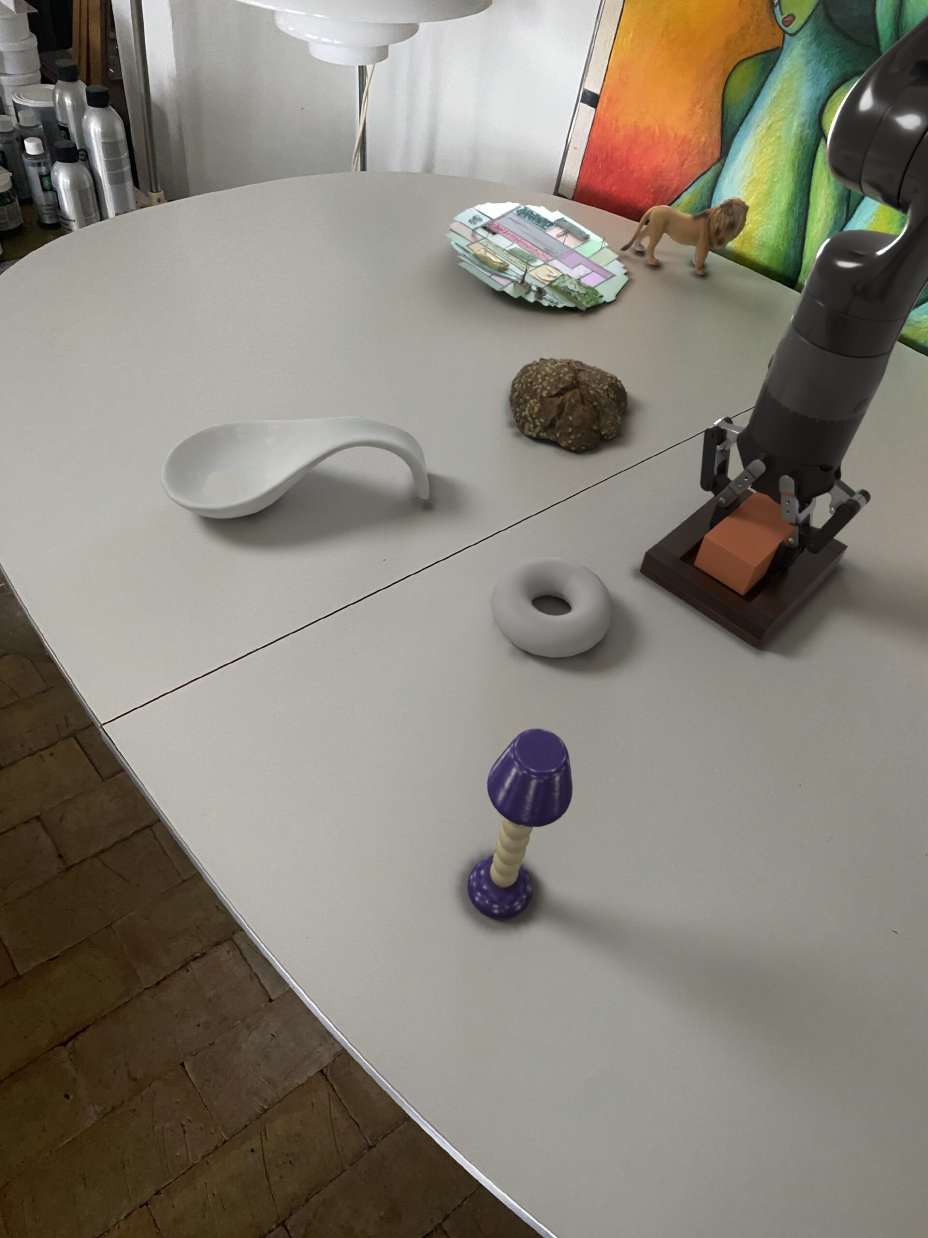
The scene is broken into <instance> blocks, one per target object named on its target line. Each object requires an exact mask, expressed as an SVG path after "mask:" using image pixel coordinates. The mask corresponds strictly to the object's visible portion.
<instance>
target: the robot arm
mask: <svg viewBox="0 0 928 1238" xmlns="http://www.w3.org/2000/svg"><path fill="white" fill-rule="evenodd" d="M825 148H826V156H825V157H826V158H825V159H826V164H827V168H828V171H829V173H830V174H831V176H832V177H833V179H834V180H835V181H836V182H838V183H839V184H840V185H842V186H843V187H845V188H847V189H849V190H850V191H853V192H855V193H858V194H860V195H862V196H863V197H866V198H868V199H870V200H873V201H875V202H877V203H879V204H881V205H883V206H885V207H888V208H889V209H891V210H894V211H896V212H898V213H900V214H902V215H904V216H906V217H907V218H906V221H905V224H904V226H903V228H902V230H901V232H900V233H899V234H894V233H889V232H883V231H879V230H869V229H846V230H842V231H839V232H837V233H835V234H832V235H831V236H829V237H828V238H827V239H826V240H825V241H824V242H823V243H822V244H821V246H820V247H819V249H818V251H817V253H816V255H814V256H815V257H814V259H813V261H812V264H811V266H810V269H809V272H808V274H807V276H806V279H805V281H804V284H803V287H802V289H801V292H800V294H799V297H798V300H797V303H796V304H795V308H794V310H793V313H792V316H791V317H790V319H789V322H788V324H787V325H786V328H785V330H784V332H783V333H782V335H781V337H780V338H779V341H778V343H777V346H776V348H775V351H774V353H772V355H771V357H770V359H769V363H768V365H767V372H766V374H765V377H764V379H763V382H762V385H761V387H760V390H759V393H758V396H757V398H756V401H755V404H754V406H753V409H752V412H751V414H750V416H749V419H748V424H747V425H746V426H745V427H743V426H739V425H736V424H734V422H733V419H732V418H731V417H730V416H728V415H724V416H722V417H720V418H719V419H717V420H715V422H713V423H712V424H710V426H708V427H707V428H706V429H705V430H704V433H703V441H702V442H703V443H702V455H701V466H700V479H699V485H700V488H701V489H702V490H703V491H704V492H710V493H711V494H712V495H713V496H714V495H715V497H716V503H717V504H716V506H715V509H714V512H713V514H712V517H711V520H710V523H709V529H710V530H712V529H713V528H714V527H716V526H717V525H718V524H719V523H720V522H721V521H723V520H724V519H725V518H726V517H727V516H728V515H730V514H731V513H732V512H733V511H734V510H735V509H736V508H738V507H739V506H740V504H741V502H742V500H741V499H739V497H740V495H741V494H742V493H743V492H744V491H745V490H746V489H749V488H750V490H751V489H752V490H753V491H755V492H756V491H757V492H759V493H762V494H765V495H768V496H769V497H770V498H771V499H772V500H773V501H775V502H776V503H778V504H779V505H781V522H783V523H784V539H783V540H782V541H781V542H780V543H779V545H778V548H777V550H776V552H775V554H774V556H773V558H772V561H771V563H770V565H769V567H768V569H767V572H769V573H771V574H772V575H775V574H777V573H778V572H781V573H784V572H785V571H786V570H787V569H789V568H790V567H791V566H792V565H793V564H794V563H795V561H796V559H797V557H798V554H799V553H800V551H801V549H802V547H803V548H807V550H808V551H809V552H810V553H813V554H817V553H819V552H820V551H821V550H822V549H823V548H824V547H825V546H826V545H827V544H828V543H829V542H830V541H831V540H832V539H833V538H835V537H836V536H837V535H838V534H839V533H840V532H842V530H843V529H844V528H845V527H846V526H847V525H848V524H849V523H850V522H851V521H852V520H853V519H854V518H855V517H856V515H858V514H859V512H861V510H863V508H864V507H866V505H867V504H868V503H869V502H870V501H871V499H872V495H871V493H870V492H869V491H868V490H867V489H864V488H861V489H860V488H859V489H858V490H856V491H855V490H854V489H853V488H851V486H849V485H848V484H847V483H845V482H844V481H843V480H842V463H843V460H844V458H845V457H846V454H847V452H848V450H849V449H850V445H851V444H852V442H853V441H854V438H855V436H856V434H857V431H858V430H859V427H860V426H861V424H862V422H863V420H864V418H865V416H866V413H867V412H868V409H869V408H870V405H871V403H872V401H873V399H874V397H875V396H876V394H877V391H878V389H879V387H880V385H881V383H882V381H883V379H884V376H885V374H886V371H887V368H888V365H889V363H890V358H891V356H892V353H893V350H894V348H895V345H896V343H897V342H898V340H899V337H900V335H901V334H902V331H903V330H904V328H905V325H906V323H907V321H908V320H909V317H910V315H911V314H912V311H913V309H914V307H915V305H916V303H917V301H918V299H919V297H920V296H921V294H922V293H923V290H924V289H925V288H926V286H927V284H928V13H927V14H926V15H924V17H923V18H922V19H920V21H918V23H916V24H915V25H914V26H913V27H912V28H911V29H909V30H908V31H907V32H906V33H905V34H904V35H903V36H902V37H901V38H900V39H899V40H897V41H896V42H895V43H894V44H893V45H891V47H889V48H888V49H887V50H886V51H885V52H884V53H883V54H881V56H879V58H877V60H875V61H874V62H873V63H872V64H871V65H870V66H869V67H868V68H867V69H866V70H865V72H864V73H863V74H862V75H861V76H860V77H859V78H858V79H857V81H856V82H855V83H854V84H853V86H852V87H851V88H850V89H849V91H848V93H847V94H846V96H845V97H844V99H843V100H842V102H841V104H840V105H839V107H838V109H837V110H836V113H835V115H834V118H833V120H832V122H831V125H830V128H829V132H828V136H827V143H826V147H825ZM735 445H736V447H737V450H738V454H739V459H740V462H741V465H742V468H743V469H742V471H741V472H740V473H739V474H738V475H737V476H736V477H735V478H734V479H732V480H733V481H732V480H731V478H730V477H729V476H728V475H729V467H730V457H731V450H732V448H733V447H734V446H735ZM825 494H829V495H830V497H831V499H830V503H829V505H828V507H829V509H828V510H829V511H828V512H829V514H831V516H830V517H829V518H828V519H827V520H826V521H825V523H824V524H823V525H822V526H821V527H815V526H814V527H812V526H813V515H814V514H813V513H814V510H815V508H816V506H817V505H816V504H817V498H818V497H820V496H822V495H825Z"/></svg>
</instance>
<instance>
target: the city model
mask: <svg viewBox="0 0 928 1238" xmlns="http://www.w3.org/2000/svg"><path fill="white" fill-rule="evenodd" d="M452 220H453V221H454V222H451V223H450V224H449V226H450V227H448V228H446V230H447V231H448V233H447V234H445V235H444V237H447V238H448V239H450V240H451V243H450V245H451V246H452V248H453V249H454V250H456V252H455V253H458V254H459V255H457V256H456V258H458V259H459V260H461V261H462V262H459V263H457V265H459V266H460V267H461V268H463V269H464V270H466V271H467V272H469V273H470V274H471V275H473V276H475V277H476V278H477V279H479V280H480V281H482V282H484V283H485V284H486V285H488V286H490V287H491V288H492V289H493V290H495V291H496V292H503V291H504V292H506V294H508V295H510V296H512V297H513V298H514V299H516V298H519V297H520V296H521V297H522V298H523V299H525V300H526V301H528V302H530V303H534V302H535V301H536V302H539V303H540V304H541V305H543V306H545V307H547V306H551V307H554V306H556V307H557V308H563V307H564V306H566V307H568V308H569V307H572V308H574V307H577V308H578V310H580V311H583V312H586V309H588V308H591V307H593V306H597V305H600V304H603V303H604V301H605V303H609V302H612V301H614V300H616V299H617V298H616V295H617V294H618V293H619V292H620V290H622V288H623V287H624V285H625V284H626V283H627V281H629V279H630V278H629V277H628V276H627V275H625V273H627V272H628V270H627V269H625V268H624V267H625V265H624V263H622V262H620V261H619V260H618V257H620V255H619V254H617V253H615V252H614V251H612V250H611V249H609V248H608V247H609V243H607V242H605V241H606V236H603V238H602V237H600V236H599V235H598V234H596V233H594V232H592V231H591V230H589V229H587V228H586V227H584V226H582V225H581V224H579V223H578V222H576V221H574V220H573V219H571V218H570V217H568V216H566V215H565V214H563V213H562V212H560V211H559V210H555V211H553V212H552V211H550V210H549V209H548V208H546V207H544V206H542V205H541V206H538V205H530V204H526V205H523V204H521V203H519V202H517V203H516V202H514V203H512V202H510V201H506V202H505V203H501V202H498V203H491V202H489V201H487V202H486V203H483V204H482V203H479V204H477V205H476V206H474V207H473V206H472V207H471V208H470V207H468V208H466V209H465V210H464V211H462V212H461V213H459V214H458V215H456V216H454V217H453V218H452Z"/></svg>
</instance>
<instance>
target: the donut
mask: <svg viewBox="0 0 928 1238" xmlns="http://www.w3.org/2000/svg"><path fill="white" fill-rule="evenodd" d="M494 583H495V584H494V586H493V590H492V594H491V598H490V607H491V612H492V618H493V621H494V622H495V624H496V626H497V627H498V629H499V630H500V632H501V633H502V635H503V636H504V637H505V638H506V639H507V640H508V641H510V642H511V643H512V644H513V645H514V646H516V647H517V648H519V649H520V650H521V649H522V650H523V651H526V652H528V653H530V654H532V655H535V656H541V657H547V658H551V659H552V658H568V657H569V658H570V657H574V656H575V655H579V654H582V653H584V652H587V651H589V650H590V649H592V648H593V647H594V646H595V645H596V644H598V643H600V641H602V640H603V638H604V636H605V635H606V633H607V631H608V630H609V628H610V627H611V625H612V619H613V610H614V604H613V602H612V598H611V595H610V594H611V593H610V592H609V590H608V587H607V586H606V584H605V583H604V582H603V581H602V579H601V578H600V576H599V575H597V574H596V573H595V572H594V571H592V570H591V569H589V568H588V567H587V566H586V565H583V564H581V563H579V562H576V561H574V560H572V559H570V558H564V557H560V556H554V555H548V556H533V557H530V558H527V559H523V560H520V561H517V562H516V563H515V564H512V565H511V566H510V567H508V568H507V569H506V570H504V572H503V573H502V574H501V575H500V577H499V578H498V579H497V581H496V582H494ZM543 596H544V597H545V596H550V597H557V598H559V599H562V600H563V601H564V602H566V603H567V604H569V606H570V608H571V610H570V611H569V612H568V613H564V614H561V615H560V614H559V615H552V614H547V613H544V612H542V611H540V610H538V609H537V608H536V607H535V606H534V605H533V600H535V599H536V598H539V597H543Z"/></svg>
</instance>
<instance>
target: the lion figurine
mask: <svg viewBox="0 0 928 1238" xmlns="http://www.w3.org/2000/svg"><path fill="white" fill-rule="evenodd" d="M749 209H750V205H747V204H746V201H745V200H743V199H741V198H740V197H736V196H732V197H727V198H724V199H723V200H722V202H721V203H719V204H718V205H714V206H713V207H711V208H706V209H704V210H703V211H701V212H699V213H696V214H689V213H684V212H681V211H679V210H677V209H675V208H674V207H672V206H670V205H666V204H662V205H655V206H652V207H651V208H649V209H648V210H647V211H646V212H645V213H644V214H643V216H642V217H641V219H640V221H639V223H638V225H637V227H636V230H635V231H634V233H633V236H632V238H631V239H630V241H628V243H626V244H624V245H623V246H622V247H621V248H619V251H622V252H626V251H628V250H629V249H630V248H631V247H632V246H633V248H634V250H636V251H638V252H643V251H644V250H645V246H644V245H643V244H642V241H644V240H645V239H647V238H648V237H649V241H648V244H647V246H646V253H647V254H646V255H647V258H648V259H647V260H648V262H649V264H650V265H651V266H658V265H659V263H660V259H658V258H657V257H655V253H654V252H655V249H656V247H657V246H658V244H659V242H660V241H661V240H662V238H663V236H664V234H666V235H667V236H668V237H669V238H670V239H671V240H672V241H673V242H674V243H676V244H678V245H680V246H681V245H682V246H685V247H686V246H688V247H695V251H694V254H693V256H692V262H693V264H694V270H695V271H694V272H695V273H696V275H698V276H704V275H706V269H705V268H703V267H704V263H705V261H706V259H707V257H708V255H709V252H710V251H713V250H718V251H721V250H722V249H724V248H726V246H727V245H728V244H729V243H730V242H732V241H734V240H735V239H737V238H738V237H739V235H740V234H741V233H742V231H743V230H744V229H745V226H746V223H747V216H748V212H749ZM648 220H649V221H648ZM647 221H648V223H647V225H646V226H645V224H646V222H647ZM644 226H645V227H644ZM643 227H644V228H643ZM633 244H634V245H633Z"/></svg>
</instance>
